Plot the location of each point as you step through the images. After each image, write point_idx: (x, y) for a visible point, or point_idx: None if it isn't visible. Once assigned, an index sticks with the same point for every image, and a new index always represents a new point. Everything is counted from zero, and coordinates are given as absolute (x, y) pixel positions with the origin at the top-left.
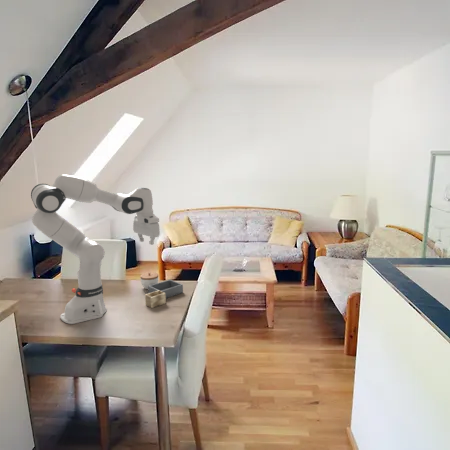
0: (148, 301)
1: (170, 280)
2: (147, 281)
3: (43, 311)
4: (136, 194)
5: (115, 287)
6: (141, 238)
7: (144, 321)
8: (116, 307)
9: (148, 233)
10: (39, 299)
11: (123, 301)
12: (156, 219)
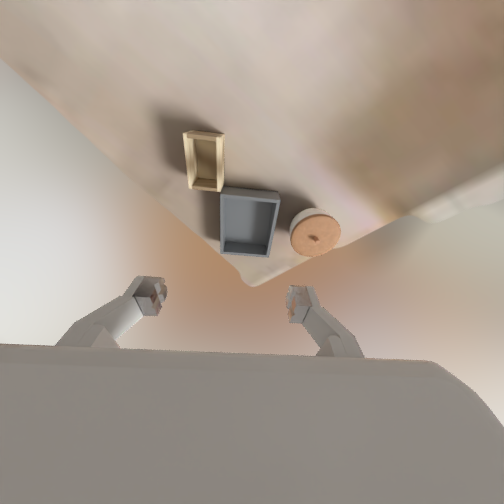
0: (204, 133)
1: (263, 254)
2: (302, 216)
3: None
4: None
5: (397, 164)
6: (300, 311)
7: (109, 27)
8: (281, 39)
9: (34, 398)
10: None
11: (299, 102)
12: None
